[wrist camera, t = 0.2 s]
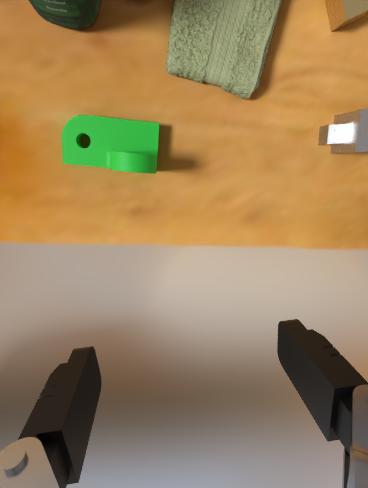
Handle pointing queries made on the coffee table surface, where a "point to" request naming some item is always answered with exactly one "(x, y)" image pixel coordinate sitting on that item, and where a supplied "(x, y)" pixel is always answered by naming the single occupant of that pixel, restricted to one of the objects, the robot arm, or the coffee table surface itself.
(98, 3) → the coffee jar
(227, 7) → the washcloth
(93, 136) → the mechanical part
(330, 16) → the brass block
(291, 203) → the coffee table surface
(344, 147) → the block
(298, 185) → the coffee table surface
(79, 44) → the coffee table surface
